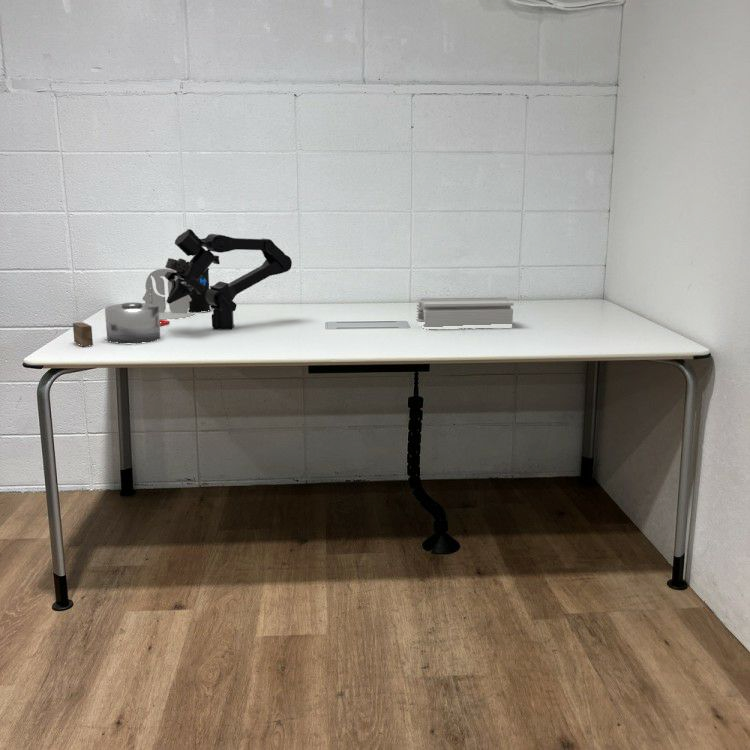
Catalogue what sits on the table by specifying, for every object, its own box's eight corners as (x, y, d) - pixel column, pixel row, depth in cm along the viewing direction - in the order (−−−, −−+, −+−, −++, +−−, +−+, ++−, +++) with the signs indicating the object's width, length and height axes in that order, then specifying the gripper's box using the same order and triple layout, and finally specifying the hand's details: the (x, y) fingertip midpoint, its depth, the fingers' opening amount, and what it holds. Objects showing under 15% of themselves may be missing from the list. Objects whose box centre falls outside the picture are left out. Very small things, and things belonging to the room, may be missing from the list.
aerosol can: (193, 308, 306) (190, 256, 301) (213, 309, 305) (211, 256, 300) (185, 312, 298) (182, 258, 293) (206, 313, 297) (204, 259, 292)
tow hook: (150, 322, 279) (138, 326, 270) (149, 285, 276) (137, 288, 267) (173, 323, 278) (162, 327, 269) (172, 286, 275) (161, 289, 266)
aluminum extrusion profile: (416, 323, 282) (416, 295, 280) (499, 321, 287) (500, 294, 284) (424, 331, 268) (425, 301, 266) (512, 329, 273) (513, 300, 271)
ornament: (196, 315, 293) (194, 269, 289) (182, 321, 280) (180, 273, 276) (139, 313, 296) (137, 267, 292) (123, 319, 283) (120, 272, 279)
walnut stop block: (84, 341, 244) (82, 322, 243) (93, 345, 238) (91, 326, 237) (74, 342, 243) (72, 323, 241) (82, 347, 236) (81, 327, 235)
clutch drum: (165, 333, 258) (163, 300, 255) (154, 344, 242) (152, 308, 240) (115, 333, 257) (112, 299, 254) (100, 344, 242) (98, 308, 239)
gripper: (168, 246, 260) (138, 283, 256) (193, 251, 246) (161, 289, 242) (192, 269, 267) (162, 305, 263) (217, 274, 252) (187, 312, 249)
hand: (167, 302), depth 254 cm, fingers closed
